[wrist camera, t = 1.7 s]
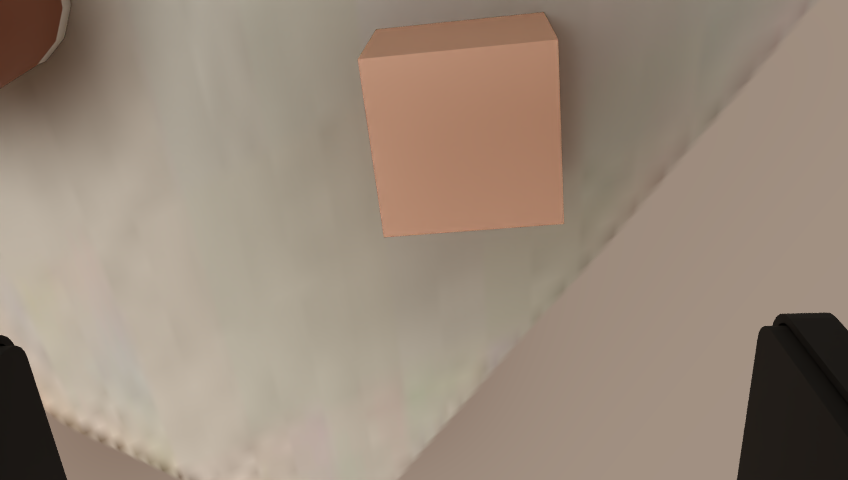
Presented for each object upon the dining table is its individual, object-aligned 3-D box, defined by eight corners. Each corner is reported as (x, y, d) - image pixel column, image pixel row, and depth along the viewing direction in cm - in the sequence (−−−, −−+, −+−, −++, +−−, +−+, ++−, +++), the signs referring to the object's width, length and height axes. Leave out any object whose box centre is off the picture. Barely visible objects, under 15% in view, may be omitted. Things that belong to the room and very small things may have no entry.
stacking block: (543, 11, 27) (558, 39, 22) (549, 170, 29) (563, 223, 25) (376, 28, 27) (357, 59, 23) (397, 182, 30) (383, 237, 25)
